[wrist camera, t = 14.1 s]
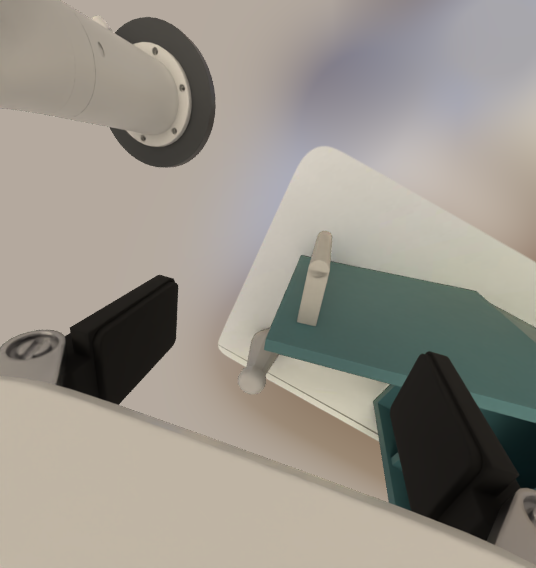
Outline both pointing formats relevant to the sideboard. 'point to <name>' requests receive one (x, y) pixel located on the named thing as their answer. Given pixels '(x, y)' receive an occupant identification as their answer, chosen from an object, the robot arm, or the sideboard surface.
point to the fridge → (509, 430)
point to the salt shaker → (256, 365)
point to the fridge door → (402, 330)
